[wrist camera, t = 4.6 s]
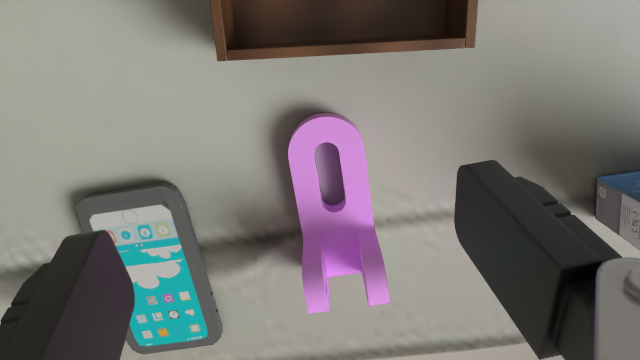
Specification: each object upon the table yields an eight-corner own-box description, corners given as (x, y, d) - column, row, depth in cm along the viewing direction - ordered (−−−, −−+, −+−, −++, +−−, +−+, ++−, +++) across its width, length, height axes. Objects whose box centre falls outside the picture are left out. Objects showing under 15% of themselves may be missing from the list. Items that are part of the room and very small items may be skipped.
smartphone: (177, 184, 32) (225, 344, 37) (181, 179, 33) (227, 336, 38) (67, 201, 33) (129, 357, 38) (74, 196, 34) (134, 349, 39)
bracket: (377, 260, 36) (391, 314, 30) (311, 270, 36) (310, 324, 30) (358, 107, 32) (369, 130, 25) (283, 119, 32) (275, 144, 25)
